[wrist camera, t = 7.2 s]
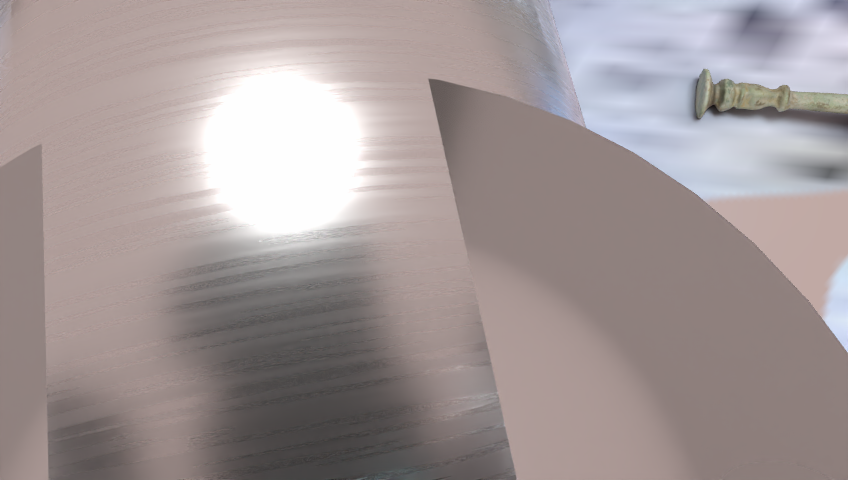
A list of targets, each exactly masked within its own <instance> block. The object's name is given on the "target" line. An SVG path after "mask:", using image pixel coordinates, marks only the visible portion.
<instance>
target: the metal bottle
mask: <svg viewBox="0 0 848 480" xmlns="http://www.w3.org/2000/svg"><path fill="white" fill-rule="evenodd" d="M0 480H848V352H847V351H846V350H845V349H844V347H843V346H842V345H841V343H840V342H839V341H838V339H837V338H836V337H835V335H834V334H833V333H832V331H831V330H830V329H829V327H828V326H827V325H826V323H825V322H824V321H823V319H822V318H821V317H820V315H819V314H818V313H817V311H816V310H815V309H814V307H813V306H812V305H811V303H810V302H809V301H808V300H807V299H806V298H805V297H804V296H803V295H802V294H801V292H800V291H799V290H798V289H797V288H796V287H795V286H794V285H793V284H792V283H791V282H790V281H789V280H788V279H787V278H786V277H785V276H784V274H782V272H781V271H780V270H779V269H778V268H777V267H776V266H775V265H774V264H773V263H772V262H771V261H770V260H769V259H768V258H767V257H766V255H765V254H764V253H763V252H762V251H761V250H760V249H759V248H758V247H757V246H756V245H755V244H754V243H753V242H752V241H751V240H750V239H748V238H747V237H746V236H745V235H744V234H742V233H741V232H740V231H739V230H738V229H737V228H735V227H734V226H733V225H732V224H731V223H730V222H728V221H727V220H726V219H725V218H724V217H722V216H721V215H720V214H719V213H718V212H716V211H715V210H714V209H713V208H711V207H710V206H709V205H708V204H707V203H706V202H705V201H703V200H702V199H701V198H700V197H699V196H698V195H696V194H695V193H694V192H692V191H691V190H689V189H688V188H686V187H685V186H683V185H682V184H680V183H679V182H677V181H676V180H674V179H673V178H671V177H670V176H668V175H667V174H665V173H664V172H662V171H661V170H659V169H658V168H656V167H655V166H653V165H652V164H650V163H649V162H647V161H646V160H644V159H643V158H641V157H640V156H638V155H637V154H635V153H633V152H631V151H630V150H628V149H626V148H624V147H622V146H620V145H618V144H616V143H614V142H612V141H610V140H608V139H606V138H604V137H602V136H600V135H598V134H596V133H594V132H592V131H590V130H588V129H587V128H586V126H585V122H584V119H583V116H582V112H581V109H580V105H579V102H578V99H577V95H576V92H575V88H574V85H573V82H572V78H571V75H570V72H569V68H568V65H567V61H566V58H565V55H564V51H563V48H562V44H561V41H560V38H559V34H558V31H557V28H556V24H555V21H554V17H553V14H552V11H551V7H550V4H549V0H0Z"/></svg>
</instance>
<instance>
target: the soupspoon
mask: <svg viewBox="0 0 848 480" xmlns="http://www.w3.org/2000/svg"><path fill="white" fill-rule="evenodd" d="M712 105H715V106H716V108H717V109H718V110H719V111H726V110H728V109H730V108H732V107H735V108H736V109H749V110H758V109H762V108H764V107H767V106H772V107H775V108H776V109H777V110H778V112H782V111H785V110H787V109H802V110H812V111H822V112H832V113H843V114H848V95H847V94H834V93H814V92H795V91H790V88H789V86H787V85H782V86H780V87H779V88H777V89H769V88H765V87H763V86H761V85H757V84H749V83H739V84H735V83H734V82H733V81H732V80H729V79H723V80H721V81H720V82H719V83H717V84H713V82H712V78H711V75H710V72H709V70H708V69H703V71H702V73H701V74H700V78H699V81H698V84H697V91H696V105H695V107H696V115H697V118H701V117H702V116H703V115H704V113H705V111H706V110H707V109H708V108H709V107H710V106H712Z"/></svg>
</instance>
